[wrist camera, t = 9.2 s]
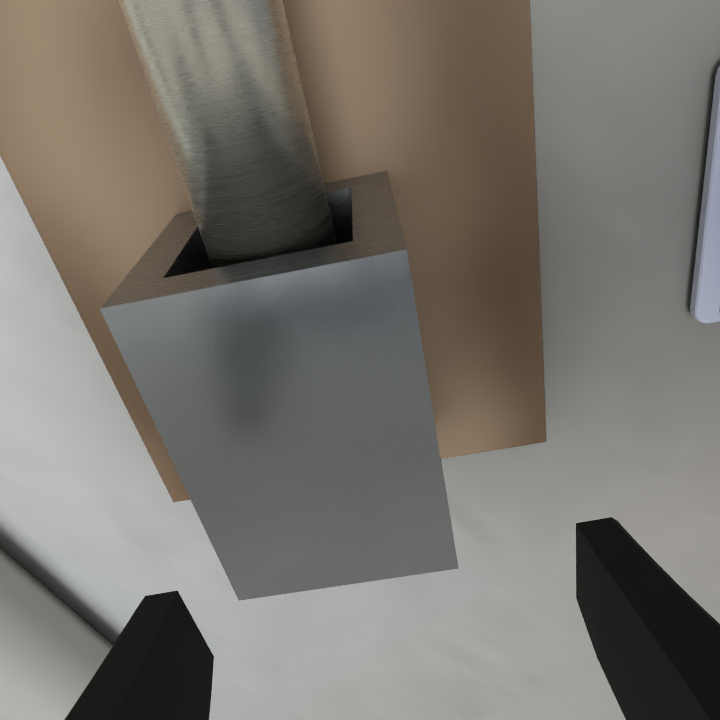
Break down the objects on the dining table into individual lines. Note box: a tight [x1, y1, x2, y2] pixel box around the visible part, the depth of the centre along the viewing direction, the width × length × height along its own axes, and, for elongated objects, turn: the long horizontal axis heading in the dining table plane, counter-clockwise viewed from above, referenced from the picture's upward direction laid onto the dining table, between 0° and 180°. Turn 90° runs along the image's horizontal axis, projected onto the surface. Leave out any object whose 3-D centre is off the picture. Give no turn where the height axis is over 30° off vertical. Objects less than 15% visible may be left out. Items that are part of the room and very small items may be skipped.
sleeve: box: [100, 171, 458, 600], centre depth 16 cm, size 6×9×6 cm, turn 11°
